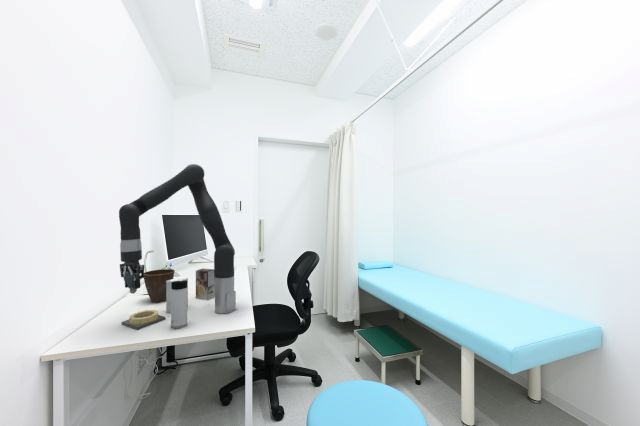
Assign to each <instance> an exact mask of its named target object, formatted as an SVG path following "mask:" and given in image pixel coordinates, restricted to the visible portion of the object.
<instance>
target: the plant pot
mask: <svg viewBox="0 0 640 426" xmlns="http://www.w3.org/2000/svg"><path fill="white" fill-rule="evenodd" d="M174 276H175V270H174V269H170V268H169V269H168V268H166V269H165V268H163V269H156V270H154V269H153V270H149V271H144V278H143V281H144V285H145V289H146V292H147V295H148V297H149V299H150V302H152V303H162V302H166V281H168V280H171V279H175V278H174Z"/></svg>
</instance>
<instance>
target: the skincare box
mask: <svg viewBox="0 0 640 426" xmlns="http://www.w3.org/2000/svg"><path fill="white" fill-rule="evenodd" d="M184 280H186V281H187V287H188V288H187V289H188V290H189V277H175V278H173V279H171V280H168V281H166V300H165V307H166V308H165V312H166V313H170V314H171V282H173V281H184ZM188 304H189V292H188V293H187V309H188V306H189V305H188Z"/></svg>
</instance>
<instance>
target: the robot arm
mask: <svg viewBox="0 0 640 426" xmlns="http://www.w3.org/2000/svg"><path fill="white" fill-rule="evenodd" d="M204 170H205V169H204V168H203V167H202V166H201V165H199V164H195V163H194V164H193V163H191V164H188V165H187V166H186V167H184V168H183V169H181V171H180V172H178V173H177V174H176V175H174V176H173V177H172V178H170V179H168V180H166V181H165V182H164V183H161V184H160V185H158V186H156V187H154V188H151V190H149V191H147V192H146V193H144V194H142V195H141V196H139V198H137V199H135V200H133V201H131V202H130V203H127V204H124V205H122V206H121V207H120V208H119V209H118V218H119V220H118V221H119V225H120V245H119V248H120V252H119V253H120V262H122V263H121V264H120V263H119V272H120V277H121V278H122V279H124V276H125V274H126V273H128V272H130V273H131V276H133V279H134V289H137V290H138V289H140V288H141V280H142V279H144V273H145V265H144V264H140V260H141V261H142V259H143V254H142V253H143V251H142V249H143V247H142V239H141V228H140V217H141V216H142V215H144V214H146V213H147V212H148V211H149V210H152V209H154V208H155V207H157V206H159V205H161V204H163V203H164V202H165V201H167V200H168V199H170V198H171V197H172V196H173V195H175V194H176V193H178V192H179V191H181V190H182V189H183V188H185V187H188V189H189V190H190V193H191V195H192V198H193V201H194V205H195V208H196V211H197V214H198V215H199V218H200V220H201V223H202V225H203V227H204V228H205V230H206V232H207V233H208V234H209V236H210V238H211V240H212V243H213V246H214V248H215V251H214V253H213V254H214V255H213V269H214V272H215V297H214V312H215V313H216V314H225V315H227V314H229V313H230V312H234V311H235V310H236V309H237V308H236V307H237V305H236V304H237V303H236V300H237V299H236V298H237V297H236V296H237V294H236V290H235V254H236V251H235V248H234V246H233V244H232V242H231V241H230V239H229V237H228V234H227V233H226V229H225V225H224V222H223V220H222V217H221V213H220V212H219V211H220V210H219V209H218V207H217V204H216V203H215V201H214V200H213V198H212V196H211V195H210V193H209V191H208V188H207V186H206V182H205V179H204V177H205V171H204ZM135 272H137V273H135ZM124 288H126V289H127V288H128V285H127V284H126V283H125V282H124ZM128 289H129V288H128Z"/></svg>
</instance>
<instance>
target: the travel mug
mask: <svg viewBox="0 0 640 426" xmlns="http://www.w3.org/2000/svg"><path fill="white" fill-rule="evenodd" d="M187 288H188V289H187ZM187 293H188V294H189V286H188V287H187V281H186V280H184V281H173V282H171V313H170V328H171V329H173V330H179V329H182V328H184V327H186V326H187V325H188V308H187Z"/></svg>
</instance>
